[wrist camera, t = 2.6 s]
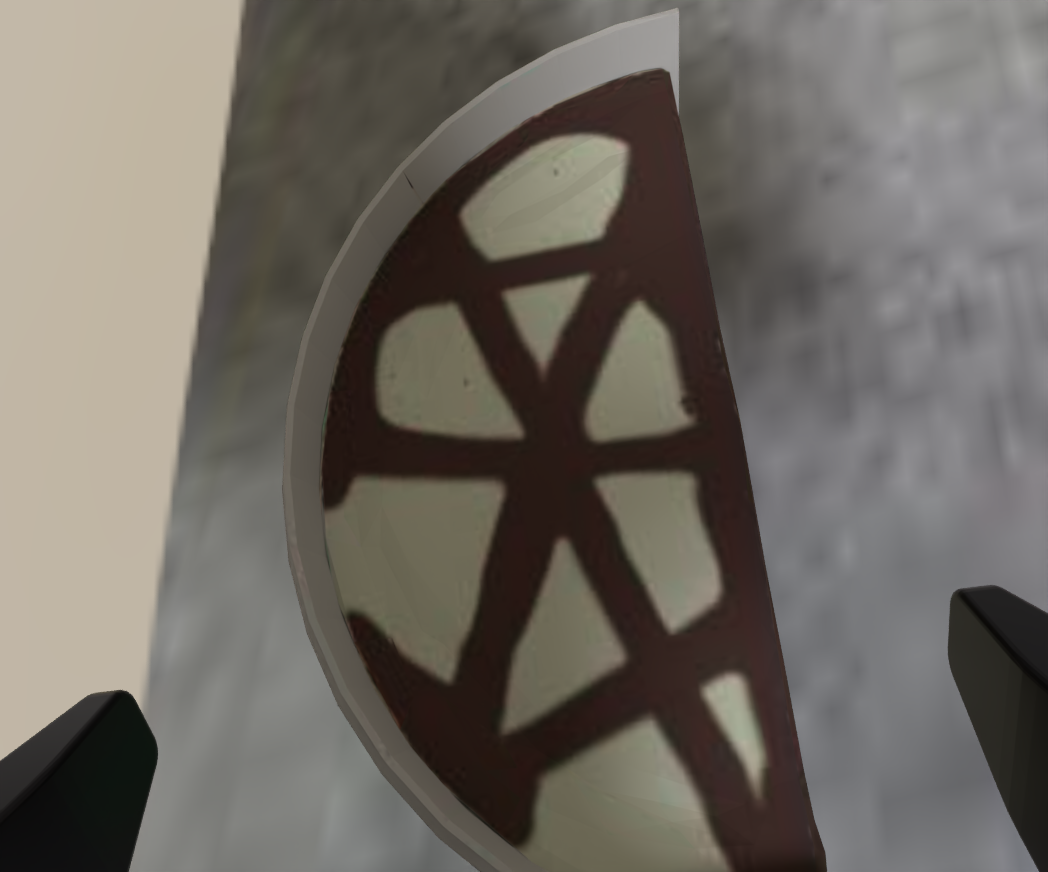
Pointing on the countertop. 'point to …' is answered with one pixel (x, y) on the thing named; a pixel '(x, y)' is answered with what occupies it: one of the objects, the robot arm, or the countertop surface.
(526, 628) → the food container
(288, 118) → the countertop surface
